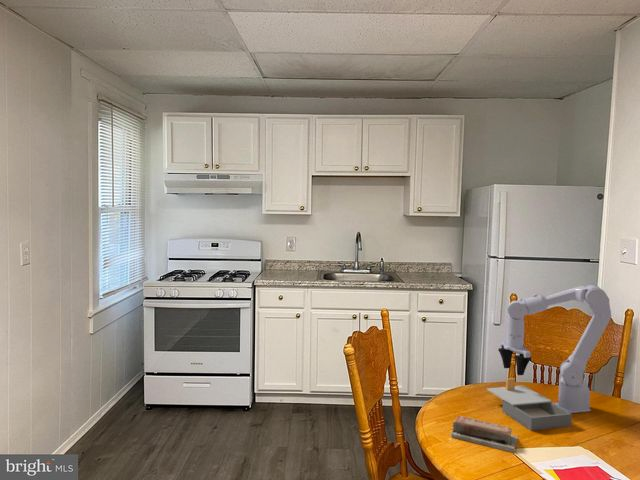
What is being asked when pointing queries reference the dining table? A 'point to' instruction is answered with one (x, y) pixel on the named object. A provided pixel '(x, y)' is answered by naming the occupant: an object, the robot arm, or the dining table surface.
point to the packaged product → (484, 433)
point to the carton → (538, 415)
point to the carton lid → (518, 394)
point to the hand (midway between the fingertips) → (513, 371)
